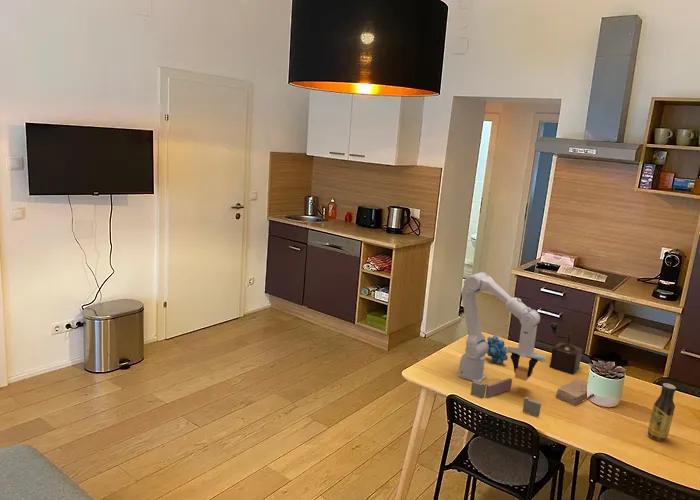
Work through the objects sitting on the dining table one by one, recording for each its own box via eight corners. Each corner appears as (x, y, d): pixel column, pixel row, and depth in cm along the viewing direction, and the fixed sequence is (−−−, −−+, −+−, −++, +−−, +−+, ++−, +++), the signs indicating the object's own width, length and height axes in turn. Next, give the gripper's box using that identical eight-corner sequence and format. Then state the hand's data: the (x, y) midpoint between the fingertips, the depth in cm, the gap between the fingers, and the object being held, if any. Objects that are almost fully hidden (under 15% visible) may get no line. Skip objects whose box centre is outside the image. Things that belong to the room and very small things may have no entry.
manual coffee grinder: (580, 367, 245) (587, 329, 241) (572, 375, 236) (579, 336, 233) (546, 357, 254) (551, 320, 250) (537, 363, 246) (543, 326, 242)
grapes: (478, 359, 245) (481, 334, 243) (486, 356, 250) (489, 331, 247) (501, 369, 237) (504, 343, 235) (509, 365, 242) (512, 339, 239)
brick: (574, 407, 208) (576, 395, 207) (554, 398, 214) (556, 387, 213) (594, 396, 219) (596, 385, 218) (575, 387, 225) (576, 377, 224)
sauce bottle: (643, 432, 192) (653, 380, 188) (659, 432, 193) (670, 380, 189) (654, 442, 186) (665, 389, 182) (671, 443, 187) (683, 389, 182)
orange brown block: (514, 377, 213) (515, 369, 212) (521, 370, 221) (522, 362, 220) (526, 380, 211) (527, 372, 210) (532, 373, 218) (533, 365, 217)
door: (487, 397, 210) (489, 386, 209) (483, 394, 211) (484, 384, 210) (510, 389, 218) (512, 379, 217) (506, 387, 219) (507, 377, 218)
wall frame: (470, 394, 212) (472, 380, 211) (472, 392, 213) (473, 379, 212) (538, 416, 198) (540, 403, 197) (539, 415, 199) (541, 401, 198)
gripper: (505, 339, 211) (500, 371, 214) (543, 349, 203) (538, 383, 206) (510, 334, 217) (506, 366, 220) (548, 344, 209) (543, 376, 212)
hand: (522, 374), depth 213 cm, fingers closed on orange brown block, 4 cm apart
